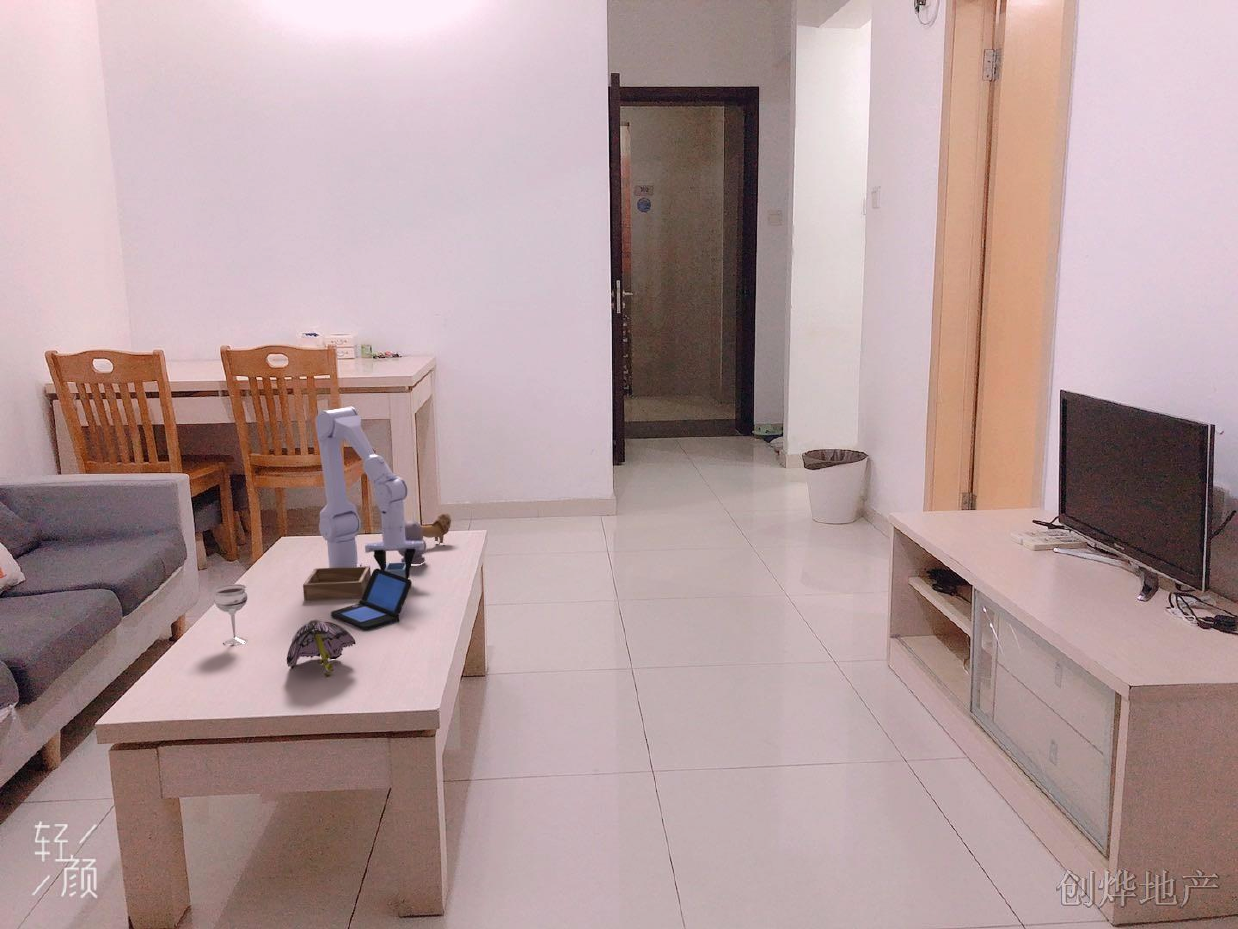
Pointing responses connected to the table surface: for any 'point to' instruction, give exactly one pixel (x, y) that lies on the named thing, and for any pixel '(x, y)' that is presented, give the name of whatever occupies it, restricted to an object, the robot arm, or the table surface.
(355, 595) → the tray
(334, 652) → the dark domed piece
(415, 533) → the grey rounded bulbous piece
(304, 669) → the table surface
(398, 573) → the blue crate
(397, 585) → the handheld game console
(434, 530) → the lion figurine
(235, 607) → the wineglass
